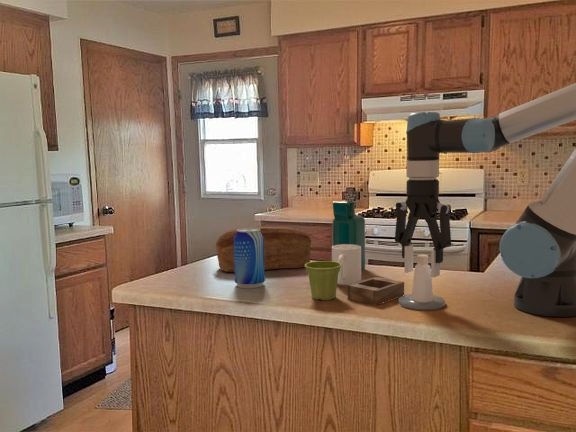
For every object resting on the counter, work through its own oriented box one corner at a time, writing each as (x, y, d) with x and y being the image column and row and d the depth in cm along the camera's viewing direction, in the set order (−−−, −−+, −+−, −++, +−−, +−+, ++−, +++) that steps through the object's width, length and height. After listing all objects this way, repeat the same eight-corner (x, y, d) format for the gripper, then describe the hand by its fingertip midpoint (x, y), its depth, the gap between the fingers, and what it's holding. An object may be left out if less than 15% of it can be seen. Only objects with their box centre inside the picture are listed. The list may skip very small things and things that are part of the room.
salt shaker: (406, 300, 133) (406, 255, 132) (417, 295, 137) (418, 252, 136) (426, 304, 129) (427, 258, 128) (437, 299, 133) (438, 254, 132)
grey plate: (453, 303, 134) (453, 299, 133) (429, 313, 126) (429, 308, 126) (414, 295, 141) (414, 291, 141) (389, 304, 133) (389, 300, 133)
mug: (354, 289, 148) (353, 252, 147) (324, 287, 151) (324, 250, 150) (364, 279, 159) (364, 244, 158) (336, 277, 162) (336, 243, 161)
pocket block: (404, 295, 142) (404, 282, 141) (376, 305, 133) (376, 291, 133) (375, 289, 148) (375, 276, 147) (347, 298, 139) (347, 285, 139)
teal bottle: (344, 266, 178) (343, 198, 176) (367, 268, 174) (367, 199, 171) (328, 271, 171) (327, 201, 168) (352, 274, 166) (351, 202, 163)
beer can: (271, 284, 155) (269, 229, 153) (249, 290, 149) (247, 232, 147) (250, 280, 161) (249, 226, 159) (229, 286, 155) (227, 230, 153)
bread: (315, 268, 176) (314, 227, 174) (219, 275, 169) (217, 232, 168) (305, 261, 188) (304, 222, 186) (215, 267, 181) (213, 227, 179)
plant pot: (315, 304, 135) (314, 269, 134) (299, 295, 144) (298, 262, 142) (348, 299, 139) (348, 265, 138) (330, 291, 147) (330, 259, 146)
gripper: (469, 178, 126) (467, 277, 128) (396, 177, 139) (396, 265, 142) (452, 180, 120) (451, 283, 123) (379, 178, 134) (379, 270, 137)
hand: (421, 273), depth 133 cm, fingers open, 7 cm apart
